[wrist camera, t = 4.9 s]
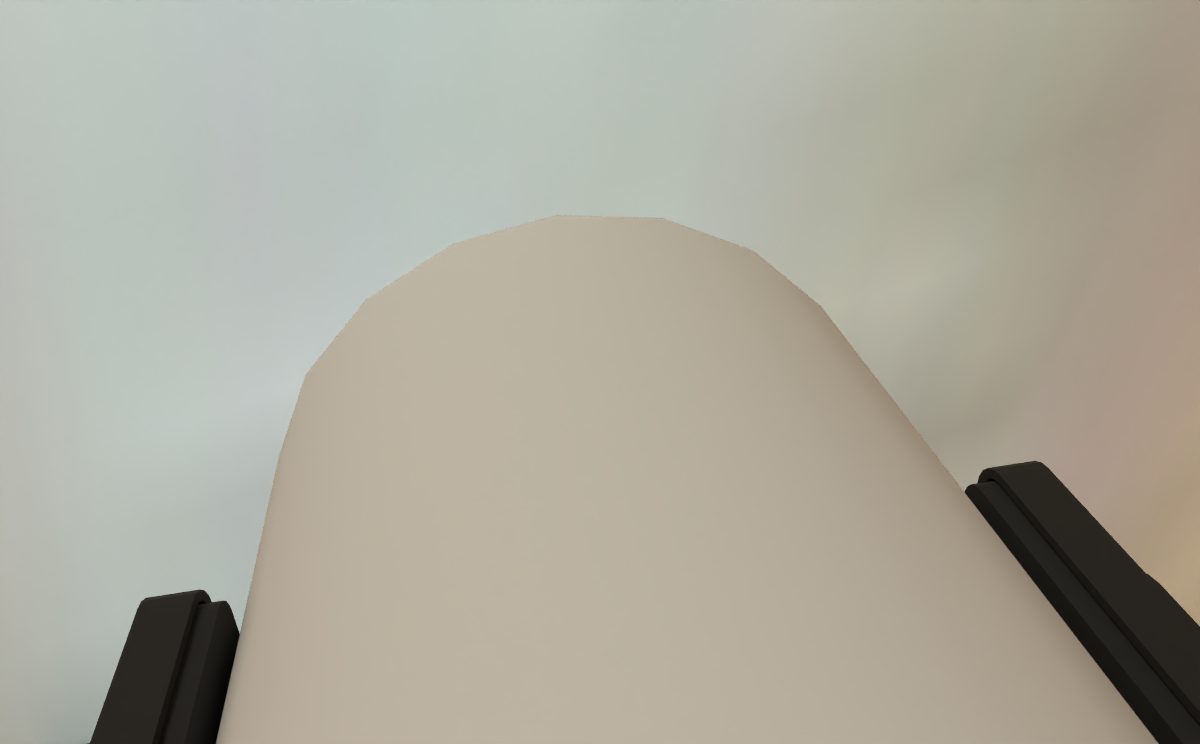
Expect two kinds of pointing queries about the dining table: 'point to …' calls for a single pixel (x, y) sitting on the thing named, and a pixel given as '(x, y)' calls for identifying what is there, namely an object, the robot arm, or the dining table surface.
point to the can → (631, 525)
